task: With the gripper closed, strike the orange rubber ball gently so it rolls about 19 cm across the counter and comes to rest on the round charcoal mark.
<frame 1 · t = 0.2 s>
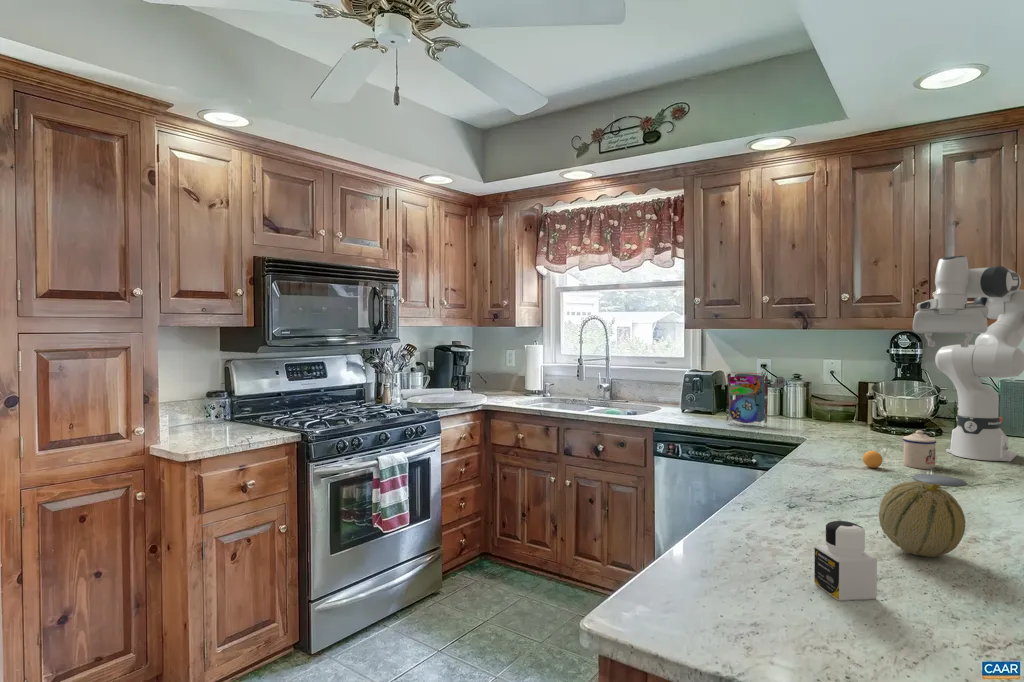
hand: (947, 346, 196), 39 cm above the counter, tool pointing down, fingers open, 8 cm apart
ball: (872, 459, 195), on the counter
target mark: (939, 480, 179), on the counter
medicine bottle: (844, 592, 106), on the counter
cantaloupe: (920, 554, 123), on the counter
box: (755, 427, 273), on the counter
teacup with lid: (920, 466, 198), on the counter
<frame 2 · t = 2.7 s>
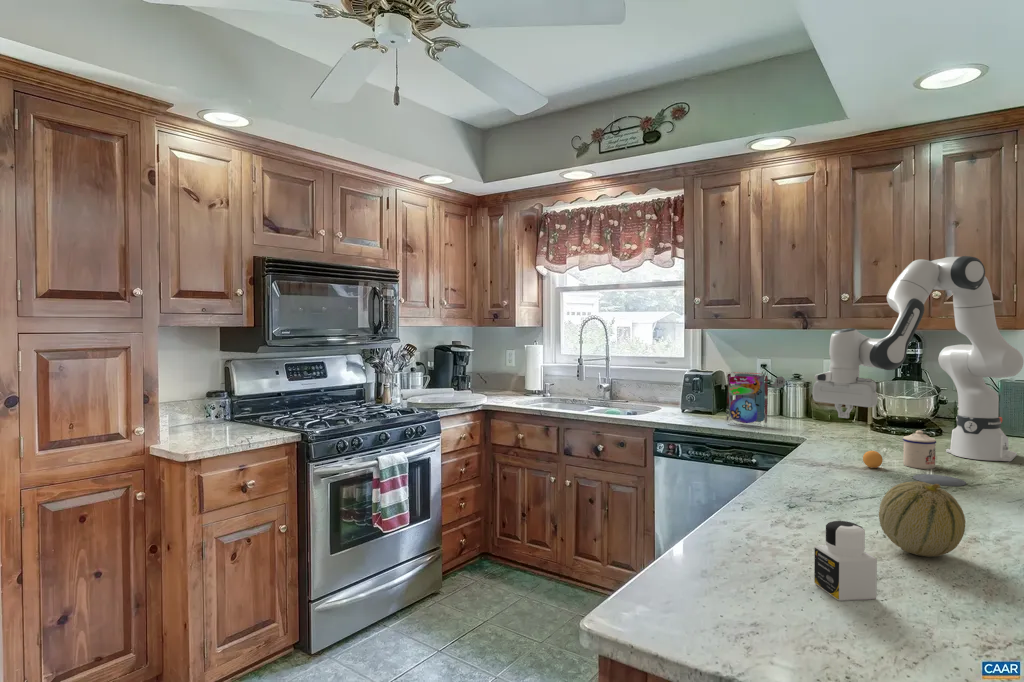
hand: (843, 417, 203), 15 cm above the counter, tool pointing down, fingers closed
nothing on the counter moved.
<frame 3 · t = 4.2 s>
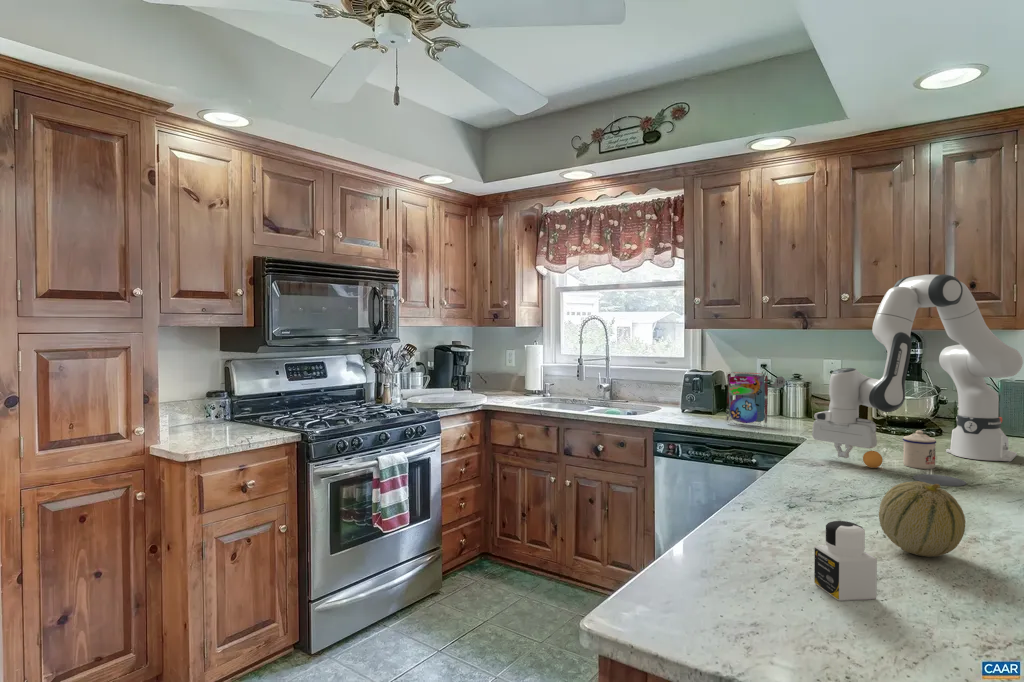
hand: (843, 457, 203), 2 cm above the counter, tool pointing down, fingers closed
nothing on the counter moved.
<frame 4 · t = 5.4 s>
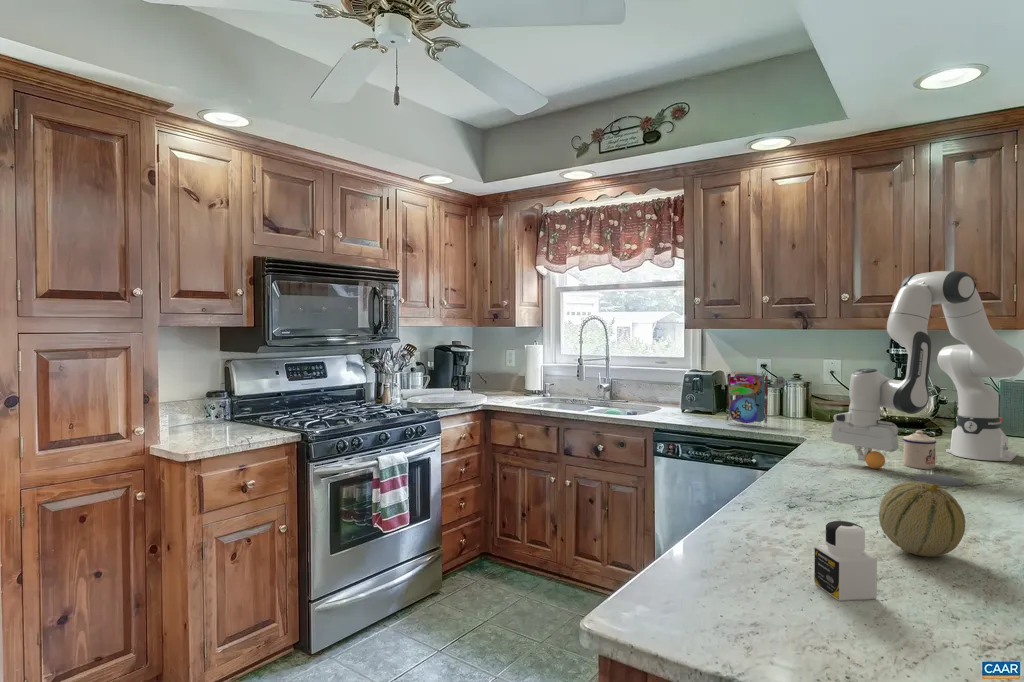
hand: (863, 460, 198), 2 cm above the counter, tool pointing down, fingers closed
ball: (875, 459, 194), on the counter, touching gripper
everything else where it was.
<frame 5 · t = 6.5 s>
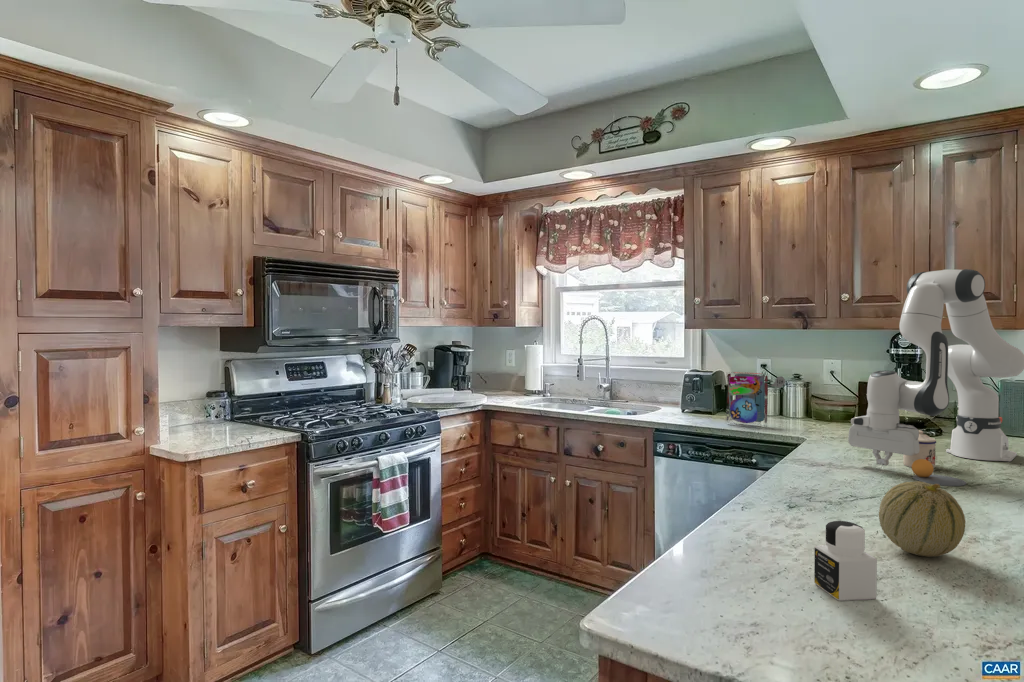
hand: (882, 464, 193), 2 cm above the counter, tool pointing down, fingers closed
ball: (922, 468, 183), on the counter
everything else where it was.
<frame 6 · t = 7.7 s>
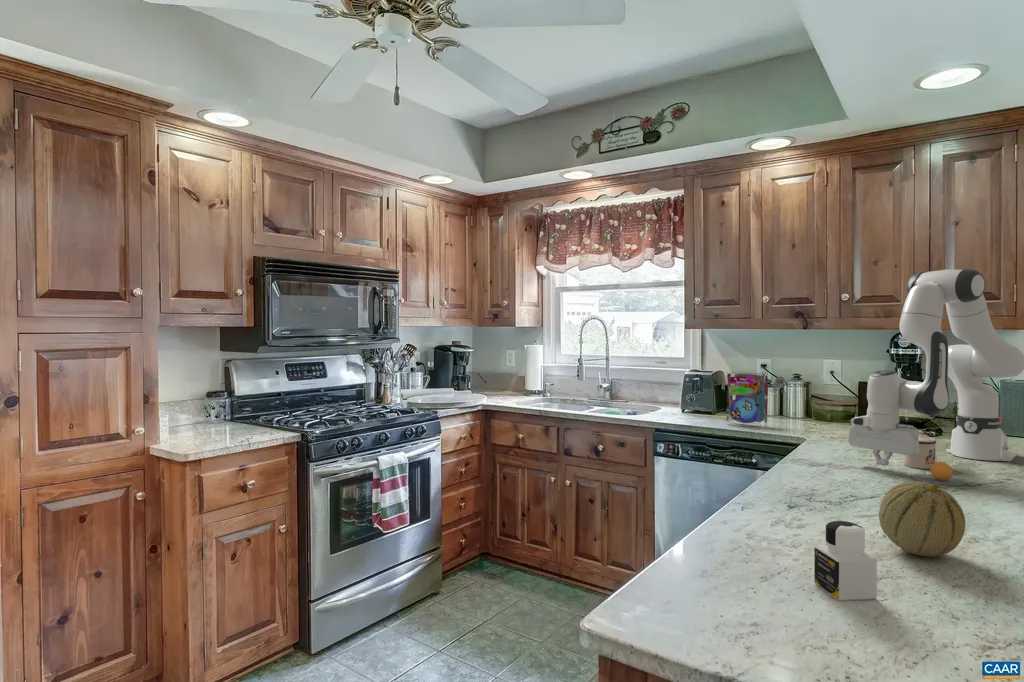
hand: (882, 464, 193), 2 cm above the counter, tool pointing down, fingers closed
ball: (941, 471, 179), on the counter
everything else where it was.
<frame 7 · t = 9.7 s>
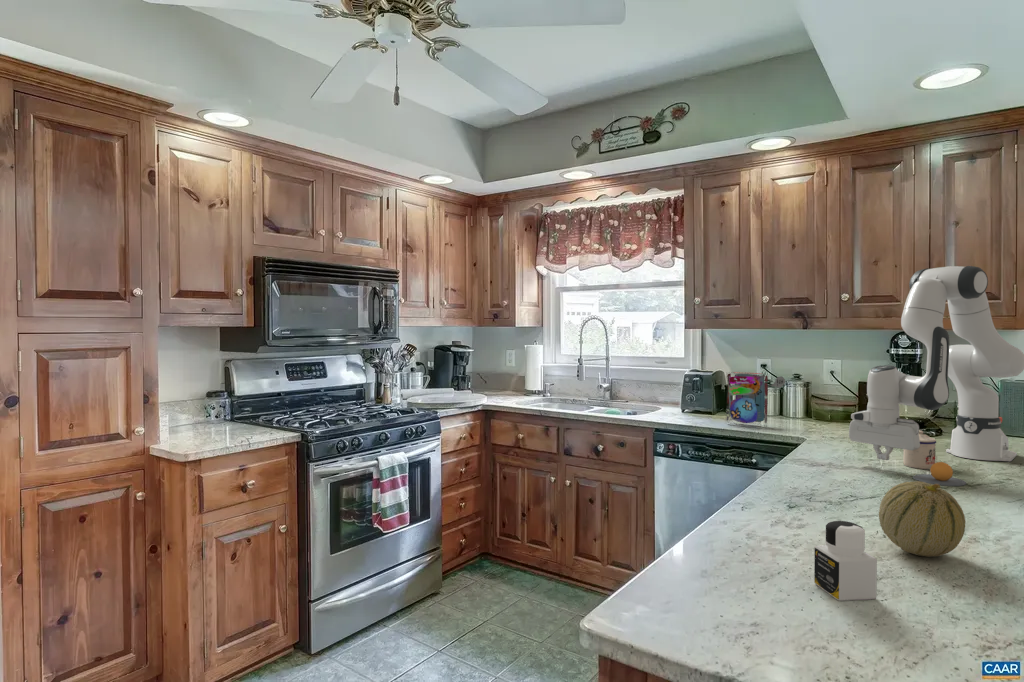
hand: (883, 459, 193), 3 cm above the counter, tool pointing down, fingers closed
nothing on the counter moved.
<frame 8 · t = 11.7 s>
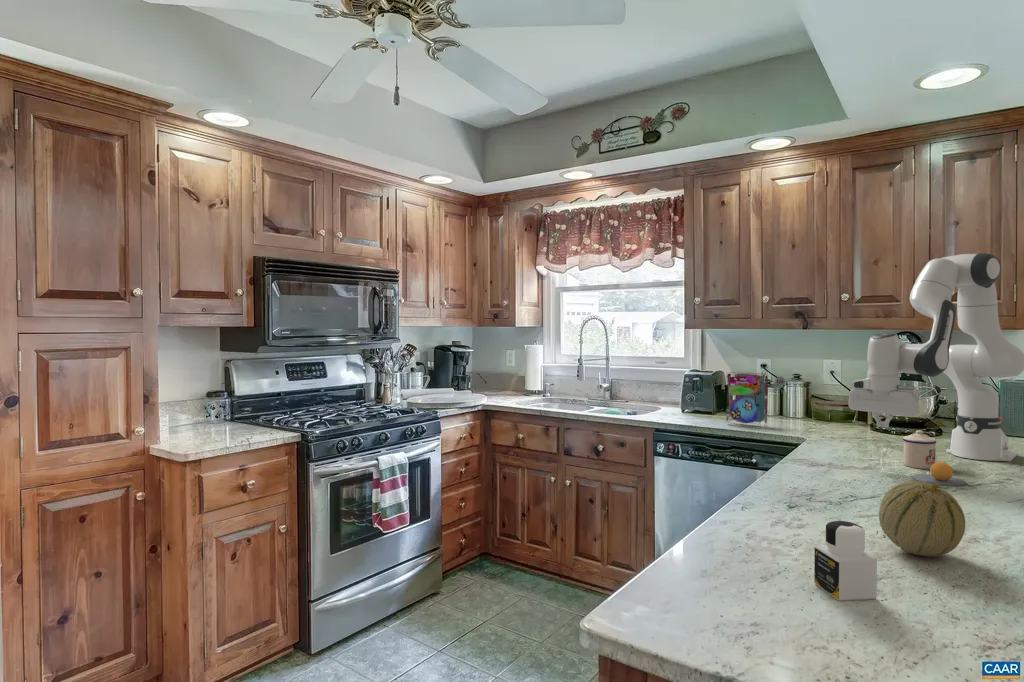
hand: (882, 427, 192), 14 cm above the counter, tool pointing down, fingers closed
nothing on the counter moved.
at the end: ball 0.6 cm from the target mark (horizontally); ball at rest at the end (0.0 cm/s); ball moved 19.5 cm from its start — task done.
